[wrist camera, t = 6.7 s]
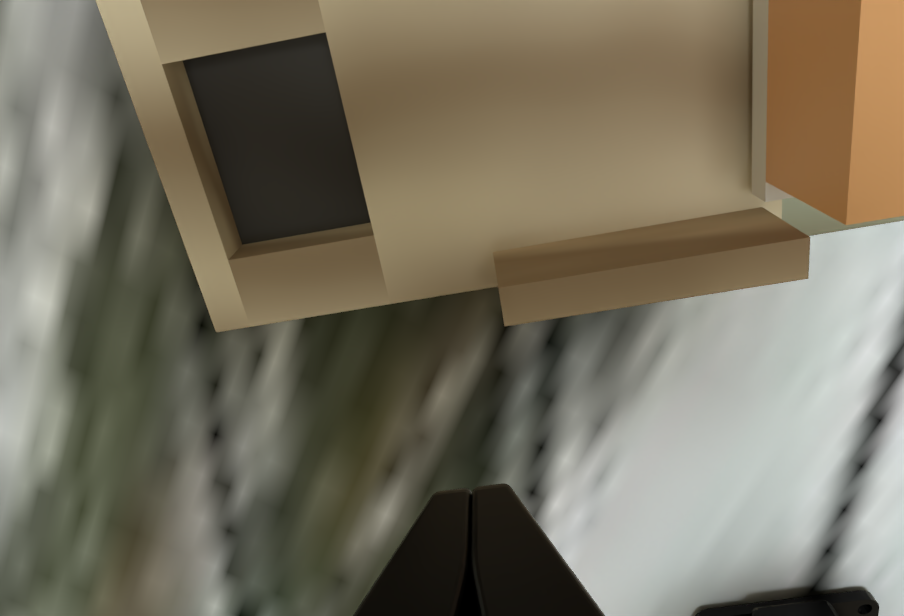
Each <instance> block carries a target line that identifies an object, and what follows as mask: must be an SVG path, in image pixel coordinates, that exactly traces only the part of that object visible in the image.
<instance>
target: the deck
mask: <svg viewBox="0 0 904 616" xmlns="http://www.w3.org/2000/svg"><path fill="white" fill-rule="evenodd" d="M96 2H97V5H98V8H99V11H100V14H101V16H102V19H103V22H104V25H105V27H106V30H107V33H108V36H109V38H110V41H111V44H112V47H113V49H114V52H115V55H116V58H117V60H118V63H119V66H120V69H121V71H122V74H123V77H124V80H125V83H126V85H127V88H128V91H129V94H130V96H131V99H132V102H133V105H134V107H135V110H136V113H137V116H138V118H139V121H140V124H141V127H142V129H143V132H144V135H145V138H146V140H147V143H148V146H149V149H150V151H151V154H152V157H153V160H154V163H155V165H156V168H157V171H158V174H159V176H160V179H161V182H162V185H163V187H164V190H165V193H166V196H167V198H168V201H169V204H170V207H171V209H172V212H173V215H174V218H175V220H176V223H177V226H178V229H179V231H180V234H181V237H182V240H183V243H184V245H185V248H186V251H187V254H188V256H189V259H190V262H191V265H192V267H193V270H194V273H195V276H196V278H197V281H198V284H199V287H200V289H201V292H202V295H203V298H204V300H205V303H206V306H207V309H208V311H209V314H210V317H211V320H212V323H213V325H214V328H215V331H216V332H221V331H228V330H234V329H240V328H246V327H252V326H258V325H264V324H271V323H277V322H283V321H289V320H295V319H301V318H307V317H314V316H320V315H326V314H332V313H338V312H344V311H350V310H357V309H363V308H369V307H375V306H381V305H387V304H393V303H400V302H406V301H412V300H418V299H424V298H430V297H436V296H442V295H449V294H455V293H461V292H467V291H473V290H479V289H485V288H492V287H498V289H499V295H500V301H501V307H502V314H503V320H504V326H511V325H517V324H523V323H530V322H536V321H542V320H549V319H555V318H561V317H568V316H574V315H580V314H587V313H593V312H599V311H606V310H612V309H618V308H625V307H631V306H637V305H644V304H650V303H656V302H663V301H669V300H675V299H682V298H688V297H694V296H701V295H707V294H713V293H719V292H726V291H732V290H738V289H745V288H751V287H757V286H764V285H770V284H776V283H783V282H789V281H795V280H802V279H808V272H809V250H810V237H809V236H811V235H817V234H823V233H829V232H835V231H842V230H848V229H854V228H860V227H866V226H872V225H878V224H885V223H891V222H897V221H903V220H904V216H900V217H894V218H888V219H881V220H875V221H869V222H863V223H857V224H851V225H845V224H843V223H841V222H839V221H837V220H835V219H834V218H832V217H830V216H828V215H826V214H824V213H822V212H821V211H819V210H817V209H815V208H813V207H811V206H810V205H808V204H806V203H804V202H802V201H800V200H799V199H797V198H795V197H793V198H787V199H781V200H775V201H769V202H764V201H763V200H761V199H759V198H758V197H756V196H755V195H753V194H752V68H753V0H96Z"/></svg>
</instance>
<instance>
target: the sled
mask: <svg viewBox="0 0 904 616" xmlns="http://www.w3.org/2000/svg"><path fill="white" fill-rule="evenodd" d="M752 194H753V195H755V196H756V197H758V198H759V199H761V200H763V201H764V202H769V201H775V200H781V199H787V198H793V197H795V198H797V199H799V200H800V201H802V202H804V203H806V204H808V205H810V206H811V207H813V208H815V209H817V210H819V211H821V212H822V213H824V214H826V215H828V216H830V217H832V218H834V219H835V220H837V221H839V222H841V223H843V224H845V225H851V224H857V223H863V222H869V221H875V220H881V219H888V218H894V217H900V216H904V0H753V68H752Z"/></svg>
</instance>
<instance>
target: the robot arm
mask: <svg viewBox="0 0 904 616" xmlns="http://www.w3.org/2000/svg"><path fill="white" fill-rule="evenodd" d="M878 612H879V605H878V603H877V601H876V600H875V599H874V597H873V596H872V595H871V594H870V592H867V591H852V592H844V593H836V594H828V595H819V596H811V597H803V598H795V599H787V600H778V601H770V602H762V603H754V604H746V605H737V606H729V607H721V608H713V609H706V610H702V611H701V612H699V613H698V614H697V615H696V616H878ZM353 616H605V615H604V614H603V612H602V611H601V609H600V608H599V607H598V605H597V604H596V603H595V601H594V600H593V598H592V597H591V596H590V594H589V593H588V592H587V590H586V589H585V588H584V586H583V585H582V583H581V582H580V581H579V579H578V578H577V577H576V575H575V574H574V573H573V571H572V570H571V568H570V567H569V566H568V564H567V563H566V562H565V560H564V559H563V558H562V556H561V555H560V553H559V552H558V551H557V549H556V548H555V547H554V545H553V544H552V542H551V541H550V540H549V538H548V537H547V536H546V534H545V533H544V532H543V530H542V529H541V527H540V526H539V525H538V523H537V522H536V521H535V519H534V518H533V517H532V515H531V514H530V512H529V511H528V510H527V508H526V507H525V506H524V504H523V503H522V502H521V500H520V499H519V497H518V496H517V495H516V493H515V492H514V491H513V489H512V488H511V487H510V486H509V485H507V484H496V485H487V486H479V487H476V488H475V489H474V490H473V492H472V493H471V491H470V490H469V489H467V488H462V489H454V490H445V491H439V492H436V493H435V494H433V495H432V497H431V498H430V500H429V501H428V503H427V504H426V506H425V507H424V509H423V510H422V512H421V513H420V515H419V516H418V518H417V519H416V521H415V522H414V524H413V525H412V527H411V528H410V530H409V532H408V533H407V535H406V536H405V538H404V539H403V541H402V542H401V544H400V545H399V547H398V548H397V550H396V551H395V553H394V554H393V556H392V557H391V559H390V560H389V562H388V563H387V565H386V566H385V568H384V569H383V571H382V572H381V574H380V575H379V577H378V578H377V580H376V581H375V583H374V584H373V586H372V588H371V589H370V591H369V592H368V594H367V595H366V597H365V598H364V600H363V601H362V603H361V604H360V606H359V607H358V609H357V610H356V612H355V613H354V615H353Z"/></svg>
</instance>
